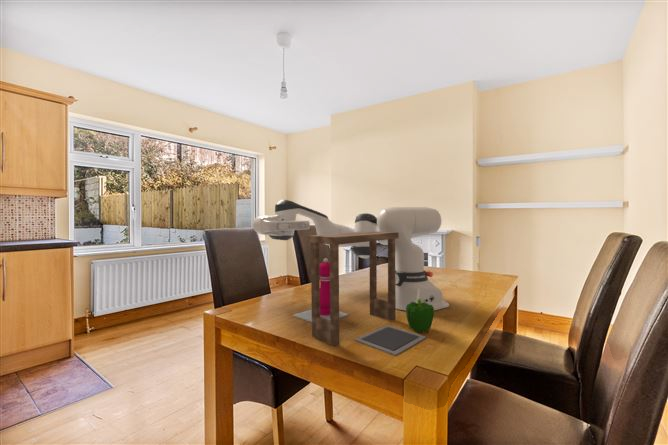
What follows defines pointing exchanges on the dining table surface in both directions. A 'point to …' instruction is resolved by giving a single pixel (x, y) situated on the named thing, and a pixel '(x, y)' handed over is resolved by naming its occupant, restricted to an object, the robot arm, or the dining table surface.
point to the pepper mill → (324, 287)
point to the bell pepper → (419, 316)
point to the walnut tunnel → (378, 307)
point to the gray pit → (390, 339)
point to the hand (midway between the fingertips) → (298, 226)
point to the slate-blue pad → (308, 315)
